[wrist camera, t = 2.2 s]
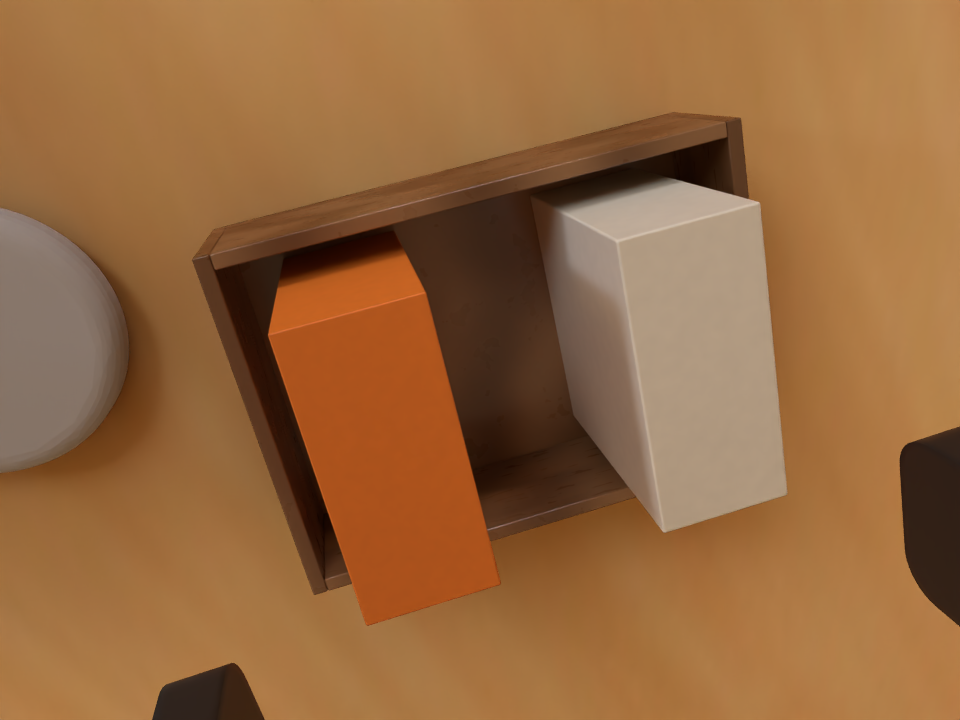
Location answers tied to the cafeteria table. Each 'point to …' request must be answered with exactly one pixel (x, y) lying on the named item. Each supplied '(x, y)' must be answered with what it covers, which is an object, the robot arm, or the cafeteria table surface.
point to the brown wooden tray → (458, 317)
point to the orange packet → (381, 426)
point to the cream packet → (667, 339)
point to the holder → (53, 344)
